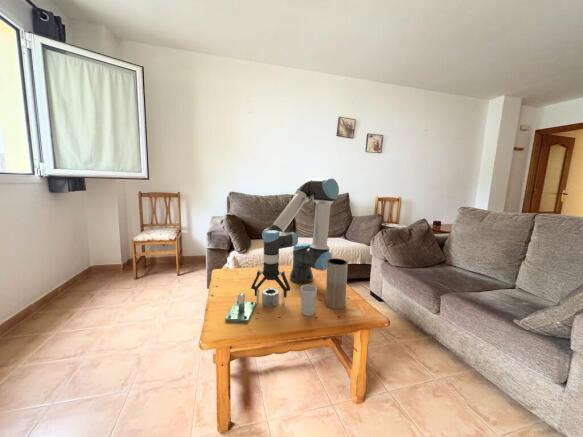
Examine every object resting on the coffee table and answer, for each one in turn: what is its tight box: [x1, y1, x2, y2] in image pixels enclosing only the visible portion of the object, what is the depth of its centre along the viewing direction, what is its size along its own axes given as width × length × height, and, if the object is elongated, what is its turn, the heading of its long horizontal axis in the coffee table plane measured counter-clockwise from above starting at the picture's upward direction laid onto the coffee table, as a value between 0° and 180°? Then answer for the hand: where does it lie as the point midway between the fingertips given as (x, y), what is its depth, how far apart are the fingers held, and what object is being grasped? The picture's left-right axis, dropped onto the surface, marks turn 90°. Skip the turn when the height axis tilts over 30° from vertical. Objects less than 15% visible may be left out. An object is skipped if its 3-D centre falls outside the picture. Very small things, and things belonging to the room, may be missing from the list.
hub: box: [261, 287, 280, 308], centre depth 121 cm, size 8×8×6 cm
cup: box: [299, 284, 318, 316], centre depth 112 cm, size 8×8×12 cm
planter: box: [325, 257, 349, 310], centre depth 120 cm, size 10×10×23 cm
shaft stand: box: [224, 292, 257, 324], centre depth 110 cm, size 10×16×9 cm, turn 176°
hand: (270, 302), depth 121 cm, fingers open, 12 cm apart
